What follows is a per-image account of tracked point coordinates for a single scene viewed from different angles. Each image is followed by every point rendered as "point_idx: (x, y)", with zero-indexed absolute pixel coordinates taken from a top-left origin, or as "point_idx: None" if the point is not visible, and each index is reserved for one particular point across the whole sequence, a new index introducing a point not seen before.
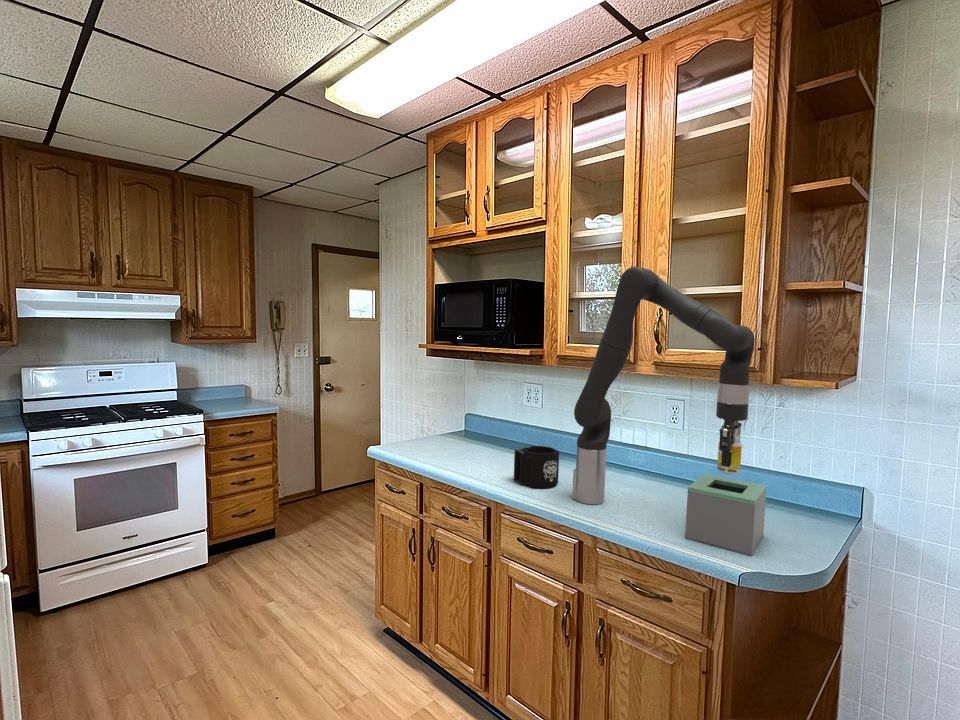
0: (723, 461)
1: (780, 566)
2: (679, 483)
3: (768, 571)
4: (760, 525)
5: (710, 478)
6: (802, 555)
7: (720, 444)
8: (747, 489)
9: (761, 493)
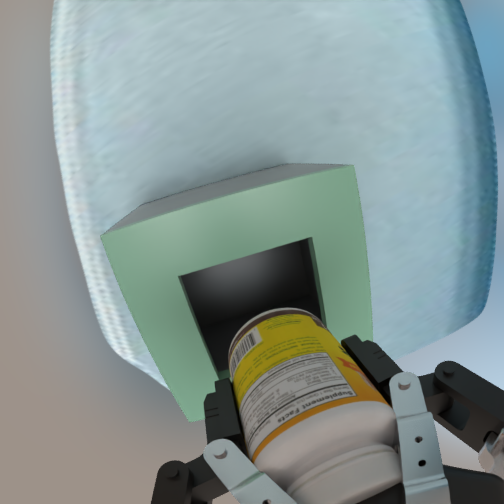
0: (205, 409)
1: None
2: (453, 38)
3: (154, 375)
4: None
5: (312, 217)
6: None
7: (155, 501)
8: None
9: None
